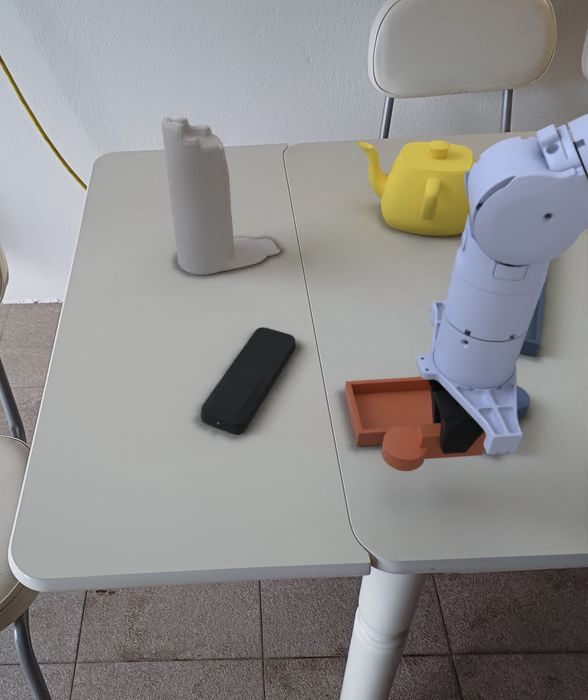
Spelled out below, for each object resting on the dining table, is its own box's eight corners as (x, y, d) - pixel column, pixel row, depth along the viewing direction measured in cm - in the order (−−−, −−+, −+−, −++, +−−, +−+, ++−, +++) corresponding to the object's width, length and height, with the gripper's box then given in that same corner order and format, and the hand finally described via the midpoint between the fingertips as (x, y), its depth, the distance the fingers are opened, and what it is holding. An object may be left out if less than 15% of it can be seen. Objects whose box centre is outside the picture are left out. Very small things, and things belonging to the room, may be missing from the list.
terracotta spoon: (472, 432, 56) (480, 409, 54) (486, 465, 54) (495, 442, 52) (377, 439, 56) (381, 416, 54) (386, 473, 54) (391, 450, 52)
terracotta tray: (448, 387, 68) (451, 374, 67) (469, 438, 63) (473, 426, 61) (344, 393, 68) (345, 381, 66) (356, 446, 63) (358, 433, 61)
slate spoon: (507, 458, 61) (515, 438, 59) (469, 443, 62) (476, 423, 60) (529, 402, 66) (538, 381, 64) (494, 389, 67) (501, 368, 65)
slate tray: (535, 356, 71) (539, 343, 70) (478, 344, 73) (482, 331, 71) (546, 238, 88) (550, 226, 86) (500, 230, 89) (503, 218, 88)
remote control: (259, 336, 76) (197, 420, 66) (259, 324, 75) (196, 408, 64) (298, 347, 74) (241, 436, 64) (298, 335, 73) (240, 424, 63)
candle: (285, 259, 86) (288, 111, 73) (184, 279, 84) (167, 130, 70) (268, 231, 91) (268, 89, 78) (173, 250, 89) (155, 106, 75)
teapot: (340, 240, 89) (346, 167, 82) (355, 186, 100) (362, 117, 93) (508, 260, 84) (531, 184, 77) (505, 200, 95) (524, 129, 88)
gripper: (403, 259, 50) (383, 381, 59) (461, 394, 40) (426, 518, 49) (493, 253, 50) (459, 376, 60) (575, 386, 40) (518, 511, 49)
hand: (450, 440), depth 54 cm, fingers closed on terracotta spoon
